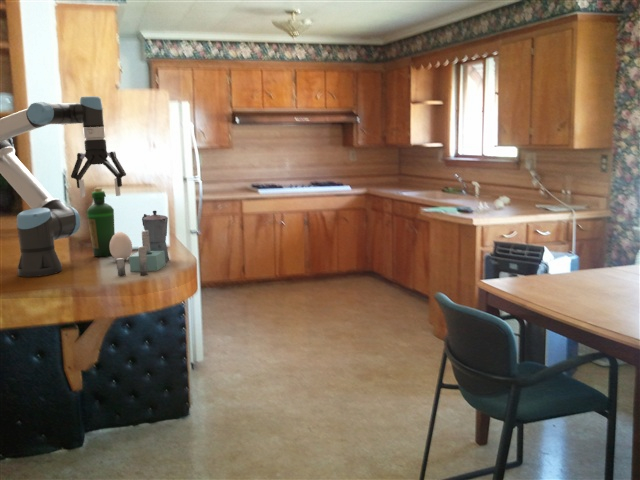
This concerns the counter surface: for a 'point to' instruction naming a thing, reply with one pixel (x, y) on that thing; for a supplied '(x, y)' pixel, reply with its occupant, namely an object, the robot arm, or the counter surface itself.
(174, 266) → the counter surface
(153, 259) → the teal square nut
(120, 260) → the pin short
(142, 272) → the pin medium
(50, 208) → the robot arm
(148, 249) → the pin long
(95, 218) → the bottle
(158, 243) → the moka pot
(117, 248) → the egg
